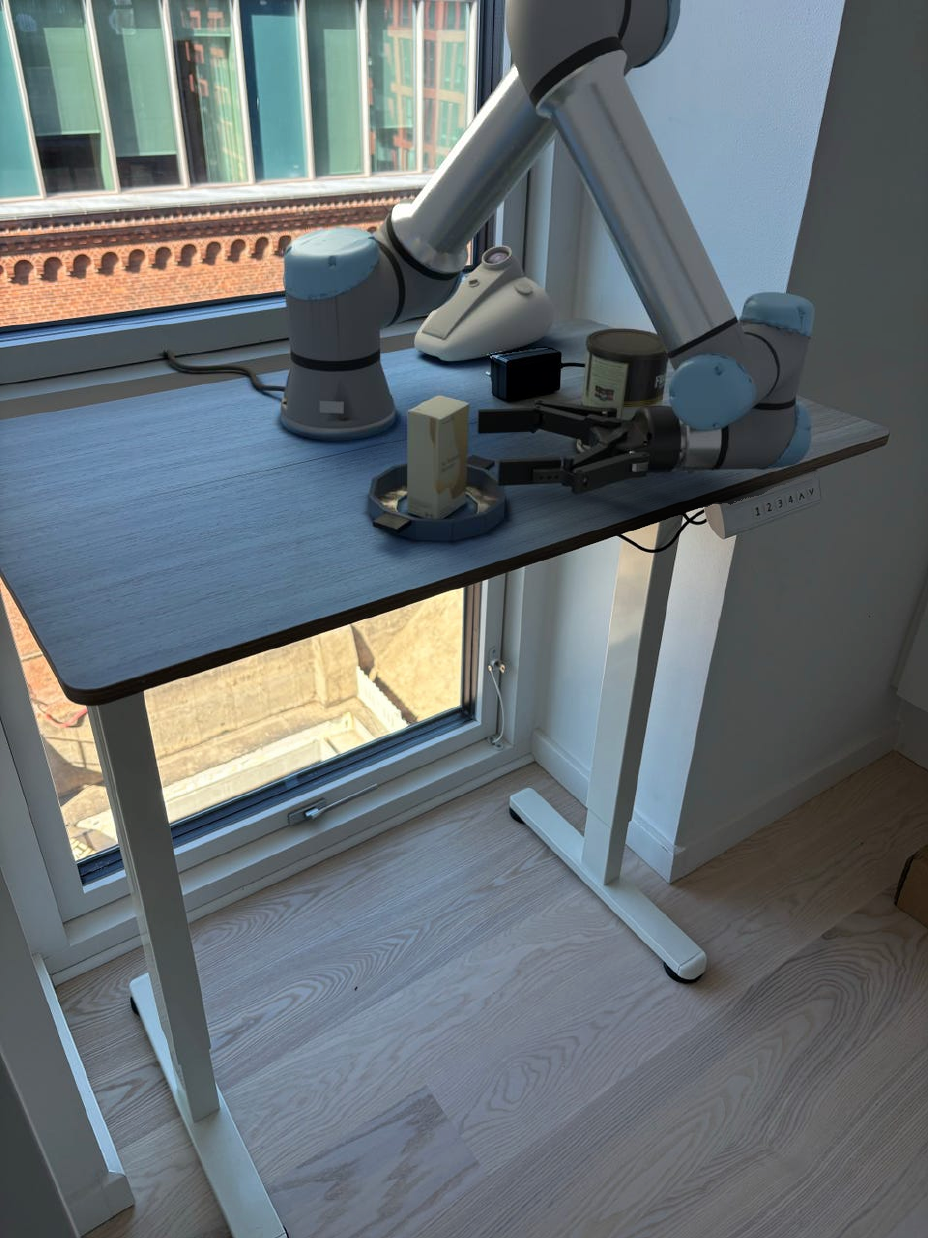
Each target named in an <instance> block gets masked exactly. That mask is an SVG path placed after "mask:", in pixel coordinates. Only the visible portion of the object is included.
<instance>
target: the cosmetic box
mask: <svg viewBox="0 0 928 1238" xmlns="http://www.w3.org/2000/svg"><path fill="white" fill-rule="evenodd" d="M469 423H470V402H467V401H462V400H459V399H456V398H455V399H454V398H452V397H448V396H444V395H440V394H437V395H435V396H434V397H431V398H429V399H428V400H425V401H422V402H421V403H419V404H417V405H416V406H414V407H412V408H410V409H408V410H407V433H406V435H407V437H406V438H407V442H406V443H407V444H406V445H407V447H406V448H407V449H406V450H407V451H406V452H407V453H406V455H407V456H406V457H407V458H406V459H407V461H406V463H407V496H406V507H407V508H406V513H408V514H412V515H415V516H417V517H419V518H428V519H445V518H446V517H448V516H449V515H451V514H453V512H455V511H457V510H458V509H460V507H462V506H463V505H465V504H466V501H467V495H466V479H467V458H468V453H469V452H468V450H469V449H468V448H469V425H470V424H469Z"/></svg>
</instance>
